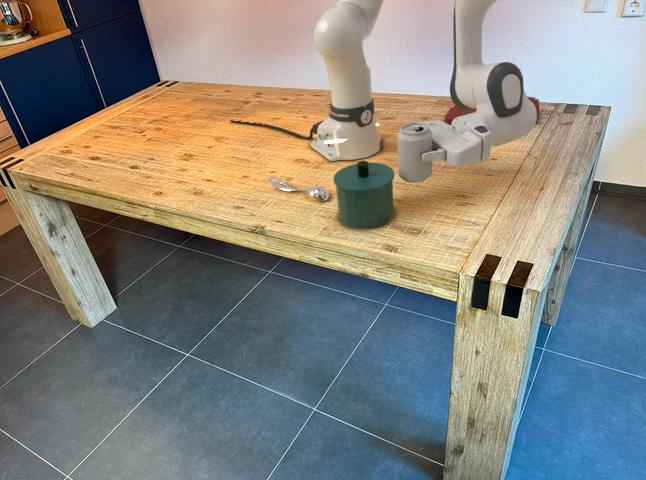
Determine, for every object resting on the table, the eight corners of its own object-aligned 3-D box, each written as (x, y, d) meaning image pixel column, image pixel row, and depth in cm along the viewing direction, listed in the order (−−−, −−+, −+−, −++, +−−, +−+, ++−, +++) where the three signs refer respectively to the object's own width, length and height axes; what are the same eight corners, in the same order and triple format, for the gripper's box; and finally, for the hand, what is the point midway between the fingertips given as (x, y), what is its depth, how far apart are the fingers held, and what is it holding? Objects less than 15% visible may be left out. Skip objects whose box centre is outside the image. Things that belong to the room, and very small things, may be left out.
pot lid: (322, 188, 113) (320, 171, 111) (353, 163, 121) (351, 147, 118) (375, 198, 105) (374, 181, 103) (404, 171, 113) (404, 154, 111)
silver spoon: (262, 174, 135) (274, 167, 138) (263, 186, 138) (275, 179, 140) (320, 194, 124) (332, 186, 126) (321, 207, 126) (332, 198, 129)
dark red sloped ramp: (445, 135, 155) (535, 125, 142) (443, 119, 153) (535, 107, 140) (453, 120, 164) (539, 109, 150) (451, 105, 161) (539, 93, 148)
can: (430, 184, 112) (430, 133, 105) (396, 184, 115) (394, 133, 108) (434, 169, 118) (434, 119, 111) (401, 169, 121) (400, 120, 114)
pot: (329, 222, 118) (325, 185, 113) (356, 197, 125) (353, 162, 120) (376, 233, 111) (374, 194, 106) (402, 206, 119) (401, 169, 113)
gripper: (442, 109, 121) (389, 123, 119) (495, 135, 105) (435, 153, 103) (441, 134, 125) (390, 149, 123) (493, 163, 108) (435, 181, 106)
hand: (411, 151), depth 113 cm, fingers closed on can, 7 cm apart
